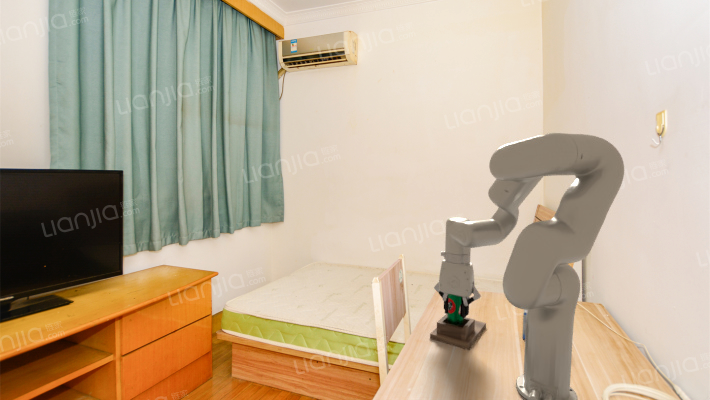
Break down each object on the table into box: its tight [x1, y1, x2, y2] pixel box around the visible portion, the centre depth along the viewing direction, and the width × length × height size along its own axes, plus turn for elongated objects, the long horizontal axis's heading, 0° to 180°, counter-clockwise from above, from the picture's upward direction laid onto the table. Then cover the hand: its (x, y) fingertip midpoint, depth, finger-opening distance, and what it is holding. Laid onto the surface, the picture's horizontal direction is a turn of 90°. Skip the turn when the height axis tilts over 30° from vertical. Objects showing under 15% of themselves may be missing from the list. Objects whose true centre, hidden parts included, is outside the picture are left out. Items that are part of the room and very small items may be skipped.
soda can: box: [447, 294, 464, 325], centre depth 108 cm, size 5×5×12 cm
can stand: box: [429, 314, 487, 351], centre depth 111 cm, size 18×12×5 cm, turn 144°
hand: (455, 313), depth 108 cm, fingers closed on soda can, 4 cm apart
